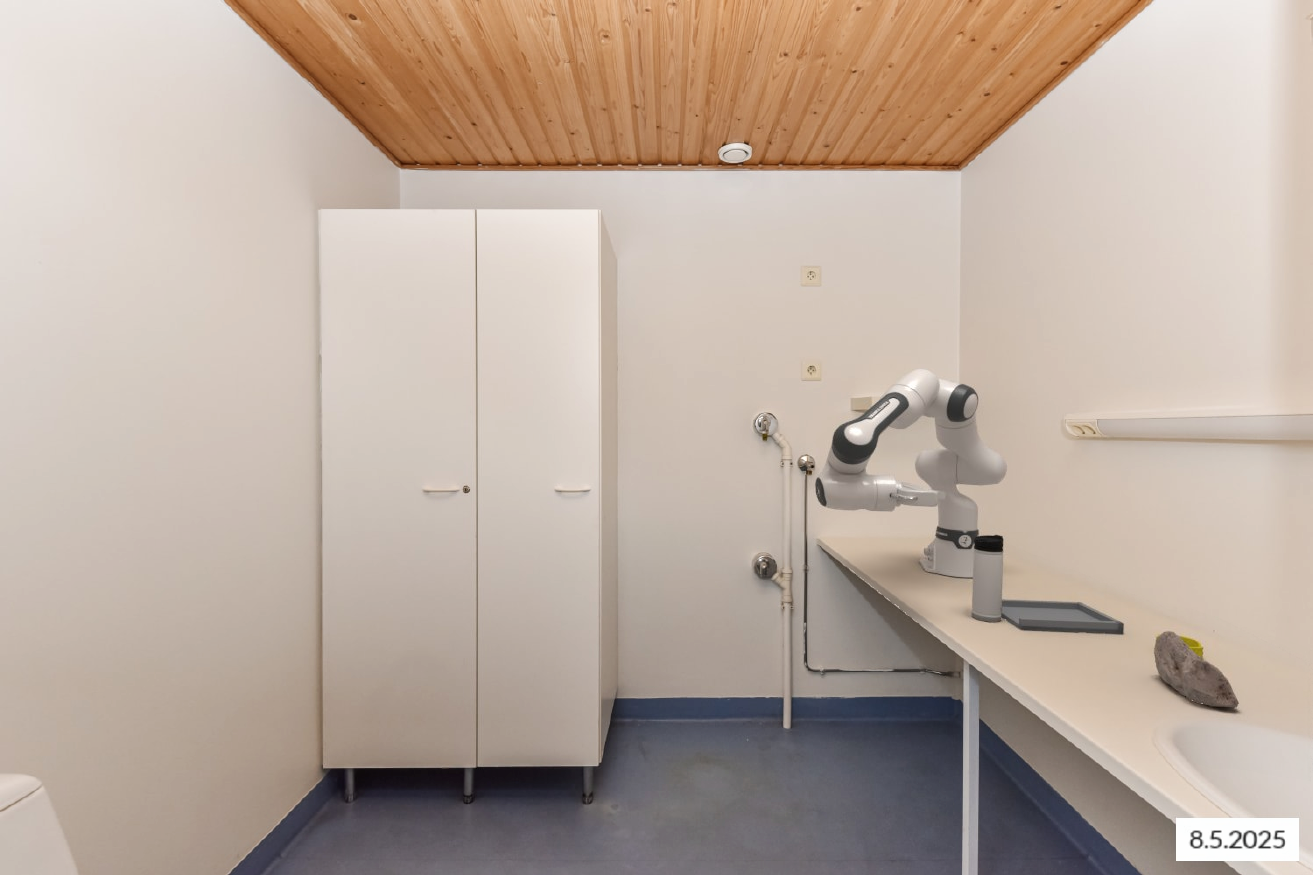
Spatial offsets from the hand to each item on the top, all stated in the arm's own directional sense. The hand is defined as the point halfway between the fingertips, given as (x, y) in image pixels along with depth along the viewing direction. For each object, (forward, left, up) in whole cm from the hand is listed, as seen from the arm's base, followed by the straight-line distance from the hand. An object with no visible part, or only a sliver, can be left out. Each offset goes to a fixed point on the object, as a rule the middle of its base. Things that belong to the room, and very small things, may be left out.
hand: (943, 494), depth 147 cm
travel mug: (0, +11, -30) cm, 32 cm away
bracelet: (+20, +40, -30) cm, 54 cm away
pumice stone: (+38, +29, -30) cm, 56 cm away
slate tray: (0, +26, -30) cm, 39 cm away
